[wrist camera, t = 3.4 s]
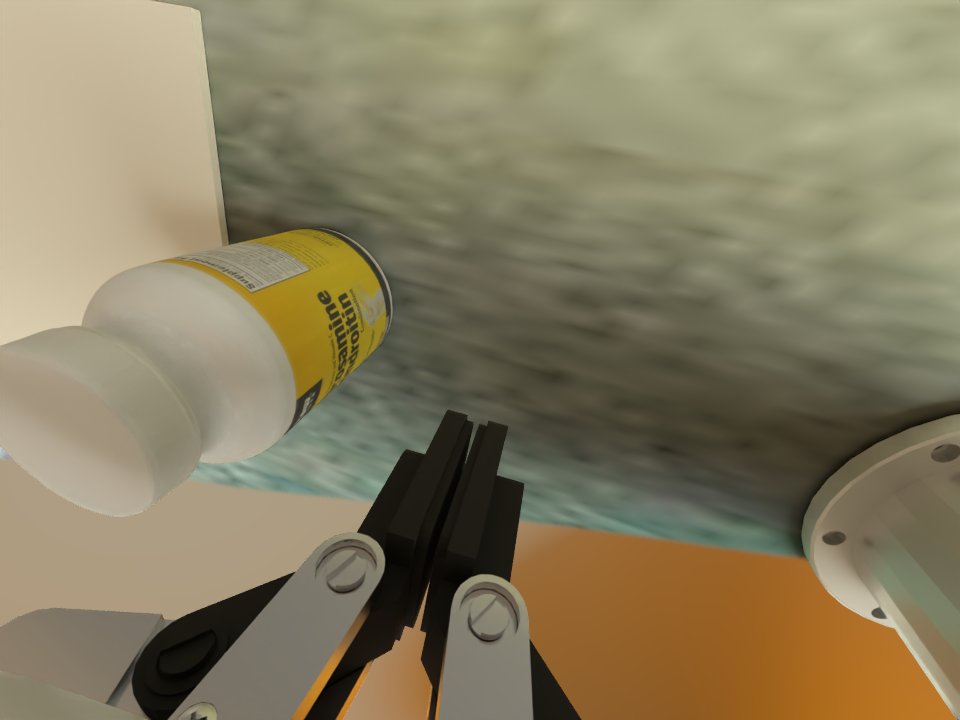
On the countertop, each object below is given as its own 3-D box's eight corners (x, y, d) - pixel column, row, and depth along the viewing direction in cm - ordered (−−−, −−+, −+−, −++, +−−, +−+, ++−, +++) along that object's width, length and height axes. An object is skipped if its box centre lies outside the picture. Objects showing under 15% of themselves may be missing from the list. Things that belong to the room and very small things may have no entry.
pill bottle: (360, 378, 21) (159, 580, 11) (256, 301, 20) (-63, 442, 10) (423, 285, 18) (224, 447, 8) (303, 192, 17) (-88, 236, 7)
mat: (200, 11, 15) (190, 7, 15) (251, 426, 24) (246, 430, 24) (-283, -77, 17) (-301, -82, 17) (-67, 330, 27) (-76, 332, 27)
